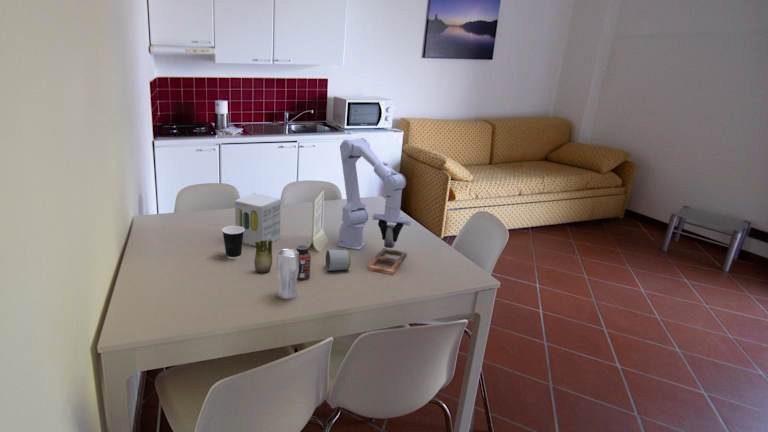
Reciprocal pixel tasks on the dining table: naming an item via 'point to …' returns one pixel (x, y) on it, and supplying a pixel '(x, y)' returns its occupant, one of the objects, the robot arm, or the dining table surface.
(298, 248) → the supplement bottle
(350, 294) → the dining table surface
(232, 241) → the dixie cup
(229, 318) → the dining table surface
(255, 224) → the supplement box
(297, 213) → the dining table surface
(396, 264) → the rail
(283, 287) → the silver beverage can
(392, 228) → the metal peg
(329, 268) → the ceramic mug
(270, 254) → the fennel bulb
